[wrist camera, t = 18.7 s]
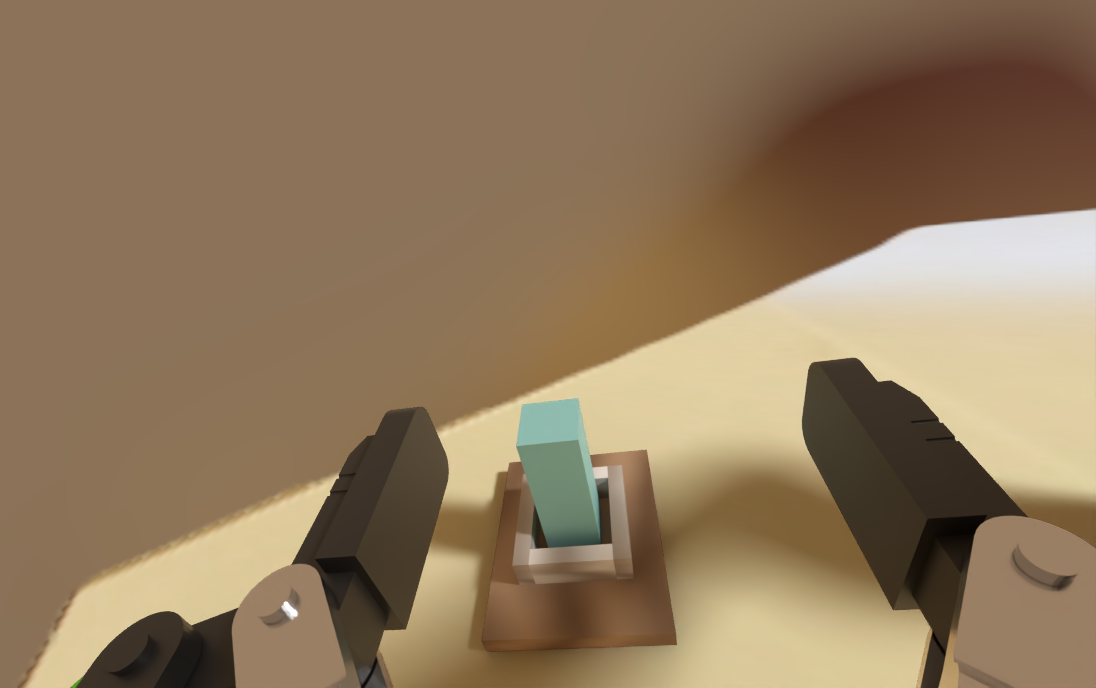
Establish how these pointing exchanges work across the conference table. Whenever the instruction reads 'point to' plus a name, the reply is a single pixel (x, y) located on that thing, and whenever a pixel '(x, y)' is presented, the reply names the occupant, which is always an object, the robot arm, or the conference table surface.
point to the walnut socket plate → (581, 569)
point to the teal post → (560, 472)
